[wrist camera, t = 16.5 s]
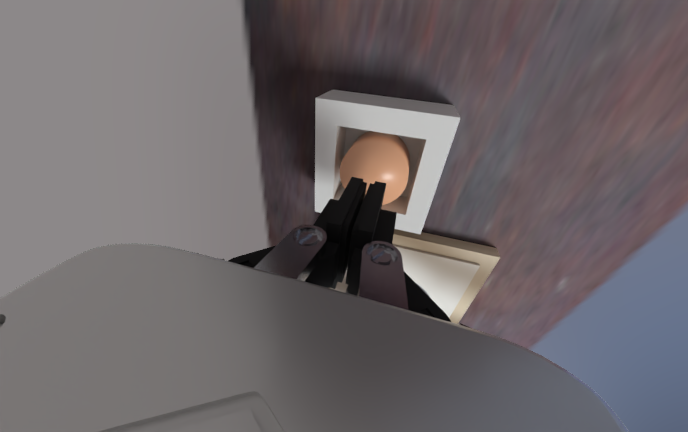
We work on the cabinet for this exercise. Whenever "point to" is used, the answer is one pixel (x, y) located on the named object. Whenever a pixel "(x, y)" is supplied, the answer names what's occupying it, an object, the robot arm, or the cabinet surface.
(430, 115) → the button housing
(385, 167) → the button
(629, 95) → the cabinet surface
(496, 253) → the cream flat rectangular panel
